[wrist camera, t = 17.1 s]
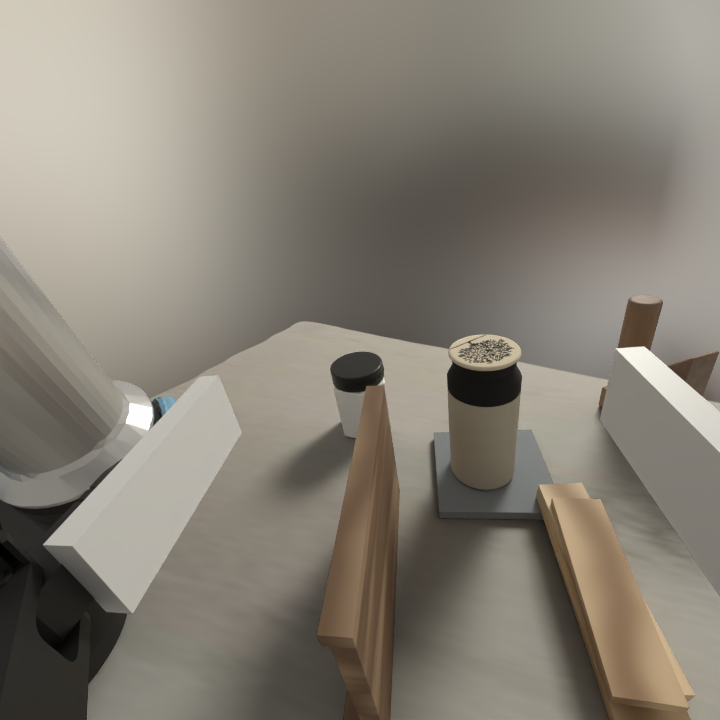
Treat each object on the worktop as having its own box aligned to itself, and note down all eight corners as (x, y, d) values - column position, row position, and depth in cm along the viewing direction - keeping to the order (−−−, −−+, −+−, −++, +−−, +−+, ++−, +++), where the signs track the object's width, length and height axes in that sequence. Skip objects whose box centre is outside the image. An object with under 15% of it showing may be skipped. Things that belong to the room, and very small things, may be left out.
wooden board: (344, 740, 28) (290, 633, 20) (373, 491, 49) (353, 386, 40) (389, 746, 28) (352, 638, 19) (399, 491, 48) (384, 385, 40)
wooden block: (661, 452, 47) (704, 328, 38) (597, 405, 56) (619, 297, 48) (685, 444, 48) (733, 320, 39) (618, 400, 57) (644, 291, 48)
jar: (357, 449, 56) (344, 386, 50) (333, 424, 63) (318, 365, 57) (402, 424, 60) (395, 362, 54) (375, 402, 66) (365, 345, 60)
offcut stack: (608, 733, 27) (620, 718, 24) (532, 496, 43) (535, 475, 41) (700, 743, 25) (721, 728, 23) (586, 496, 42) (592, 474, 40)
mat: (439, 518, 44) (439, 511, 43) (434, 438, 56) (433, 432, 55) (564, 519, 41) (565, 513, 41) (530, 435, 53) (531, 429, 53)
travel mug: (527, 478, 45) (541, 354, 37) (471, 500, 44) (471, 377, 35) (489, 439, 52) (493, 327, 43) (440, 457, 51) (433, 344, 42)
